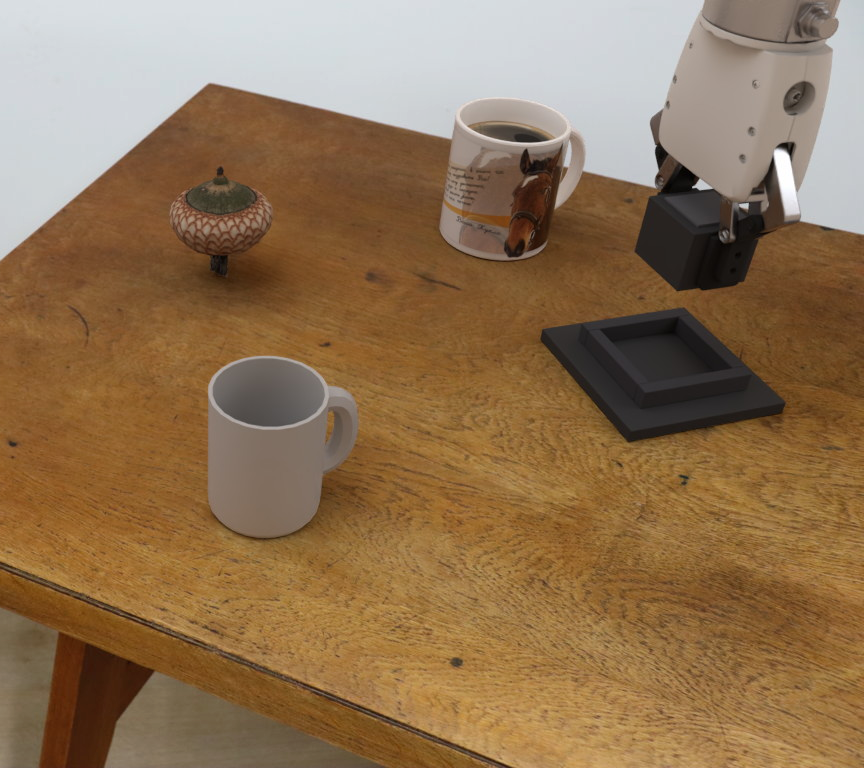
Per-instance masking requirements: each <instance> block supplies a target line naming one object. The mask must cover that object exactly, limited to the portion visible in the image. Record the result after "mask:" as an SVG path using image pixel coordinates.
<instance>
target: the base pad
mask: <svg viewBox="0 0 864 768" xmlns="http://www.w3.org/2000/svg"><path fill="white" fill-rule="evenodd" d="M539 340H540V341H541V342H542V343H543V344H544V346H546V348H547V349H548V350H549V351H550V353H552V355H553V356H554V357H555V358H556V359H557V361H558V362H559V363H560V364H561V365H562V366H563V368H564V369H565V370H566V371H567V372H568V373H569V375H570V376H571V377H572V378H573V379H574V380H575V382H576V383H577V384H578V385H579V387H580V388H581V389H582V390H583V391H584V392H585V394H586V395H588V397H589V399H591V401H593V403H594V404H595V405H596V407H598V409H599V410H600V411H601V412H602V413H603V415H604V416H605V417H606V418H607V419H608V420H609V421H610V422H611V424H612V425H613V426H614V428H616V430H617V431H618V432H619V433H620V434H621V435H622V437H623V438H624V439H625V440H626V441H627V442H628V443H629V442H633V441H634V442H635V441H639V440H644V439H650V438H651V439H652V438H657V437H660V436H666V435H667V436H668V435H672V434H676V433H682V432H687V431H693V430H698V429H703V428H708V427H714V426H720V425H725V424H730V423H735V422H740V421H741V422H742V421H745V420H751V419H757V418H761V417H767V416H772V415H777V414H782V413H783V411H784V409H785V407H786V404H787V401H785V400H784V399H783V398H782V397H781V396H780V395H779V394H778V393H777V392H776V391H775V390H774V389H773V388H771V387H770V385H768V383H766V382H765V381H764V379H762V378H761V377H760V376H759V375H757V374H756V373H755V372H754V371H753V370H752V369H751V368H750V367H749V366H748V365H747V363H745V362H743V360H742V359H740V358H739V357H738V356H737V355H736V354H735V353H734V352H733V351H732V350H731V349H730V348H728V346H726V345H725V343H723V342H722V341H721V340H720V339H719V338H718V337H717V336H716V335H715V334H713V333H712V332H711V331H710V330H709V328H707V327H706V326H705V325H704V324H703V323H702V322H701V321H700V320H698V319H697V318H696V317H695V316H694V315H693V314H692V313H691V312H690V311H689V310H688V309H687V308H685V307H684V306H683V307H676V308H669V309H664V310H663V309H662V310H658V311H656V310H655V311H650V312H643V313H637V314H632V315H624V316H617V317H611V318H604V319H598V320H592V321H586V322H579V323H573V324H572V323H571V324H566V325H560V326H559V325H558V326H552V327H546V328H542V329H541V333H540V338H539Z"/></svg>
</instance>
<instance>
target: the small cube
mask: <svg viewBox="0 0 864 768" xmlns="http://www.w3.org/2000/svg"><path fill="white" fill-rule="evenodd" d="M720 205H721V194H720V193H718V192H717V191H716V190H715V189H713V188H707V189H699V190H697V191H689V192H681V193H672V194H664V195H657V194H655V195H650V196H648V200H647V204H646V207H645V211H644V215H643V218H642V222H641V226H640V229H639V233H638V236H637V240H636V244H635V247H634V253H635V254H636V255H637V256H638V257H639V258H641V260H643V262H645V263H646V265H648V266H649V267H650V268H651V269H652V270H653V271H654V272H655V273H657V274H658V276H660V277H661V279H663V280H664V281H665V282H666V283H667V284H668V285H669V286H670V287H671V288H673V290H675V291H676V292H682V291H691V290H698V289H699V288H698V287H697V286H696V280H697V277H698V274H699V271H700V267H701V264H702V261H703V258H704V255H705V252H706V248H707V245H708V242H709V239H710V237H711V236H716V235H719V219H720ZM746 217H748V211H746V210H745V209H743V208H742V207H741V206H739V218H738V221H739V220H741V219H743V218H746ZM759 241H760V239H756V240H754V241H753V244H752V247H751V250H750V253H749V256H748V259H747V262H746V265H745V268H744V271H743V273H742V276H741V279H740V282H739V283H743V282H745V281H746V277H747V275H748V272H749V269H750V267H751V264H752V261H753V258H754V255H755V252H756V250H757V247H758V243H759Z"/></svg>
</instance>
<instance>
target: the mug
mask: <svg viewBox="0 0 864 768" xmlns="http://www.w3.org/2000/svg"><path fill="white" fill-rule="evenodd" d="M452 127H453V129H452V135H451V142H450V149H449V154H448V155H449V156H448V161H447V169H446V174H445V175H446V176H445V182H444V189H443V197H442V204H441V210H440V216H439V223H438V224H439V225H438V226H439V228H438V229H439V232H440V235H441V236H442V238H443V239H444V240H445V241H446V242H447V243H448V244H449V245H450V246H451V247H452V248H454V249H457V250H458V251H460V252H462V253H465V254H466V255H470V256H473V257H476V258H481V259H484V260H485V259H486V260H490V261H491V260H492V261H517V260H523V259H527V258H532V257H533V256H536V255H537V254H540V253H541V252H542V251H543V250H544V249H545V247H546V246H547V244H548V242H549V241H548V240H549V236H550V233H551V227H552V222H553V217H554V212H555V210H556V209H558V208H559V207H561V206H562V205H563V204H564V203H565V202H566V201H567V200H568V199H569V198H570V197H571V195H572V194H573V193H574V191H575V189H576V188H577V187H578V184H579V182H580V181H581V177H582V175H583V171H584V167H585V165H586V164H585V163H586V156H587V155H586V154H587V150H586V149H587V148H586V143H585V139H584V137H583V135H582V134H581V132H580V131H579V130H578V129H576V127H574V126H572V125H571V122H570V121H569V118H567V116H566V115H565V114H563V113H562V112H561V111H559V110H557V109H555V108H553V107H551V106H548V105H546V104H543V103H540V102H537V101H533V100H528V99H523V98H518V97H507V96H491V97H490V96H489V97H482V98H476V99H473V100H469V101H467V102H465V103H463V104H462V105H460V106H459V107H458V108H457V110H456V112H455V115H454V121H453V126H452ZM569 143H570V147H571V148H570V149H571V153H570V161H569V165H568V167H567V170H566V172H565V175H564V176H563V178H562V175H563V171H564V166H565V162H566V156H567V152H568V147H569Z"/></svg>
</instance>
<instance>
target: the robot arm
mask: <svg viewBox="0 0 864 768" xmlns="http://www.w3.org/2000/svg"><path fill="white" fill-rule="evenodd" d="M840 3H841V0H704V1H703V5H702V7H701V9H700V10H699V12H698V15H697V16H696V19H695V21H694V22H693V25H692V27H691V29H690V30H689V31H690V32H689V34H688V35H687V38H686V41H685V43H684V45H683V48H682V51H681V54H680V55H679V58H678V61H677V64H676V67H675V69H674V72H673V76H672V78H671V81H670V84H669V88H668V91H667V95H666V98H665V102H664V104H663V108H662V109H661V110H659V111H658V112H656V113H655V114H654V115H653V116H651V118H650V120H649V127H650V131H651V135H652V138H653V142H654V143H653V144H654V146H655V147H654V156H655V161H656V164H657V165H656V166H657V169H658V171H657V173H656V175H655V177H654V186H655V188H656V189H657V190H658V192H657V194H656V195H664V194H672V193H681V192H689V191H697V190H700V189H699V188H697V187H695V186H696V185H697V184H698V182H699V181H700V180H701V181H702V182H704V183H705V184H707V185H708V186H710V188H711V189H715V190H716V191H717V192H718V193H720V194H721V205H720V219H719V235H716V236H711V237H710V239H709V242H708V245H707V248H706V252H705V255H704V258H703V261H702V264H701V267H700V271H699V274H698V277H697V280H696V286H697V287H698V288H697V289H699V290H700V291H710V290H717V289H723V288H731V287H735V286H737V285H738V284H739V283H741V282H740V279H741V276H742V273H743V271H744V268H745V265H746V262H747V259H748V256H749V253H750V250H751V247H752V244H753V241H754V240H756V239H759V240H761V239H763V238H764V237H765V236H767V235H769V234H771V233H774V232H776V231H777V230H780V229H785V228H786V227H789V226H792V225H793V226H794V225H795V224H799V222H800V221H801V220H802V211H801V207H800V206H801V205H800V202H799V201H800V200H799V196H798V192H799V191H800V189H801V187H802V185H803V182H804V180H805V178H806V177H805V176H806V173H807V171H808V167H809V164H810V161H811V158H812V155H813V152H814V148H815V145H816V142H817V138H818V134H819V130H820V128H821V124H822V119H823V115H824V111H825V110H824V109H825V106H826V103H827V97H828V92H829V87H830V80H831V74H832V67H833V66H832V65H833V53H834V49H833V48H832V47H831V46H830V45H828V44H827V41H828V39H831V38H832V37H833V36H834V35H835V33H836V32H837V31H838V29H839V25H840V24H839V23H840V22H839V20H838V17H836V15H837V12H838V9H839V6H840ZM744 204H745V205H746V204H748V208H747V213H748V217H746V218H743V219H741V220H739V221H738V218H739V207H740V205H744Z"/></svg>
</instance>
